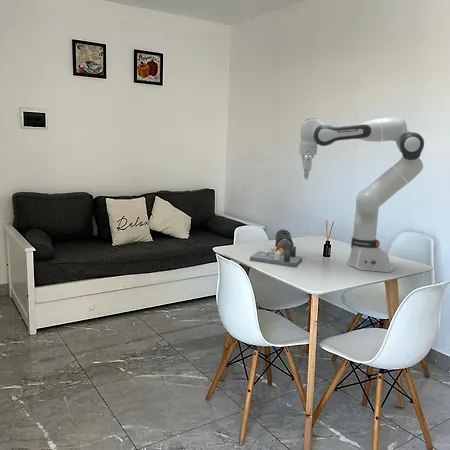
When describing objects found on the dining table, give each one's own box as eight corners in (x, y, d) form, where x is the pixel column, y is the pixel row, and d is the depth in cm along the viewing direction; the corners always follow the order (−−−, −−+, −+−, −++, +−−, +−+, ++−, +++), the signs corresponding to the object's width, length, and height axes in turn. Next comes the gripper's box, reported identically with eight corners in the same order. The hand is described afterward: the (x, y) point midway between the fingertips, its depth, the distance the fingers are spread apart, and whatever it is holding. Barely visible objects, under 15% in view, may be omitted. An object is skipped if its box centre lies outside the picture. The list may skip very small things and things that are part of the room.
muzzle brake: (290, 246, 269) (291, 229, 267) (293, 257, 241) (294, 238, 239) (274, 245, 269) (275, 228, 268) (274, 256, 242) (276, 237, 240)
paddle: (283, 256, 237) (284, 248, 236) (281, 258, 233) (281, 249, 232) (279, 255, 238) (279, 247, 237) (276, 257, 234) (277, 249, 233)
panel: (302, 260, 238) (303, 247, 237) (295, 267, 226) (296, 253, 224) (258, 254, 247) (259, 241, 246) (249, 260, 235) (250, 247, 233)
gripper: (315, 151, 222) (313, 180, 225) (313, 151, 242) (311, 177, 245) (302, 151, 223) (300, 179, 226) (301, 150, 243) (299, 176, 246)
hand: (306, 178), depth 235 cm, fingers open, 8 cm apart
